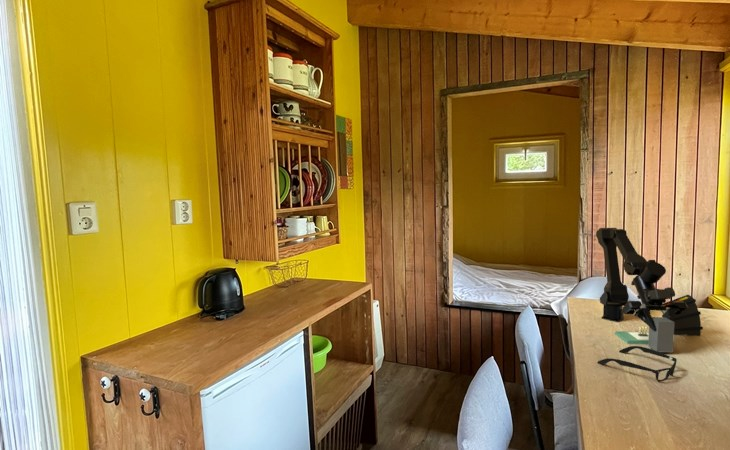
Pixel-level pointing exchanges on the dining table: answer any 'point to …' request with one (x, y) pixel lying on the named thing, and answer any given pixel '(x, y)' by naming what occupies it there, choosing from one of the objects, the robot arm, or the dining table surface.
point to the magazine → (687, 318)
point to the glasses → (628, 364)
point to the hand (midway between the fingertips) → (663, 330)
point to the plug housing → (662, 335)
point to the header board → (634, 336)
